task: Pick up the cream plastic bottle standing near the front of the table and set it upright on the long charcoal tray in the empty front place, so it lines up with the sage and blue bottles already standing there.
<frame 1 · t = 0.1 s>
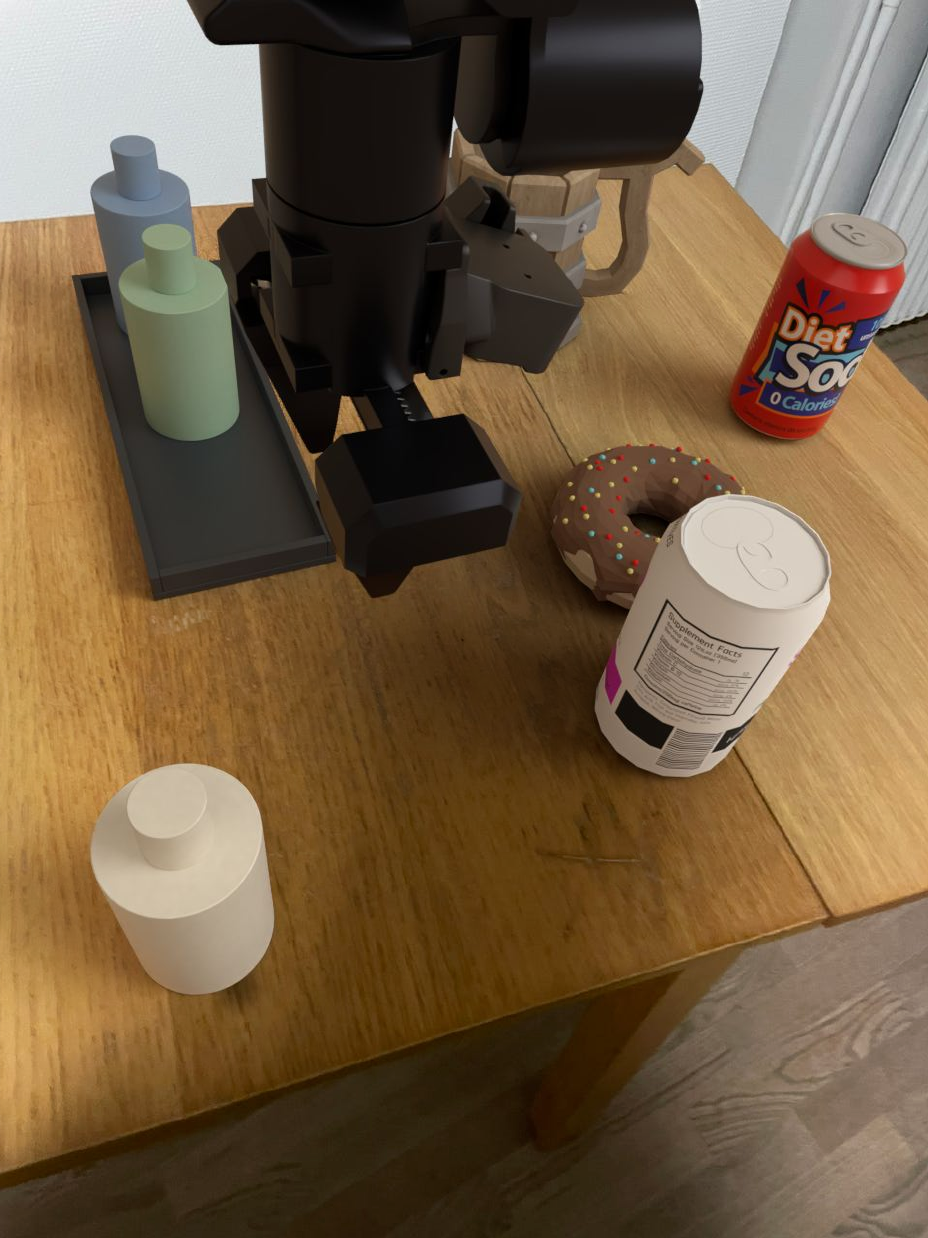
hand: (348, 517, 41), 14 cm above the table, tool pointing down, fingers open, 9 cm apart
blue bottle: (161, 318, 69), point 1 cm above the table, touching tray
supplement can: (659, 721, 53), on the table
tray: (193, 417, 64), on the table
sage bottle: (192, 410, 64), point 1 cm above the table, touching tray
soda can: (771, 416, 72), on the table
donut: (649, 552, 61), on the table
cream bottle: (205, 924, 43), on the table
tankard: (541, 318, 77), on the table
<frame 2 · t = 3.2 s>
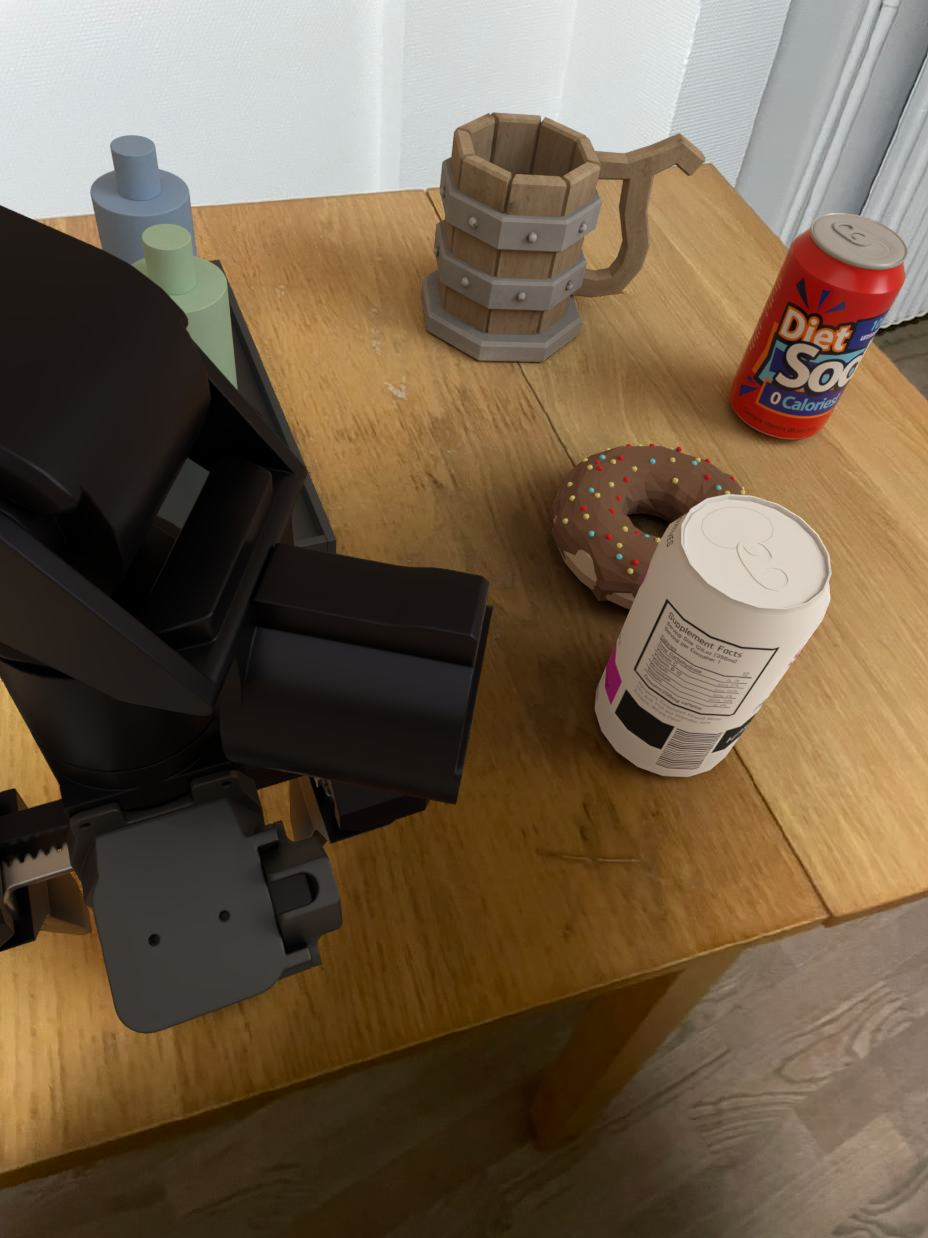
hand: (198, 886, 39), 5 cm above the table, tool pointing down
cream bottle: (205, 924, 43), on the table, touching gripper
everything else where it was.
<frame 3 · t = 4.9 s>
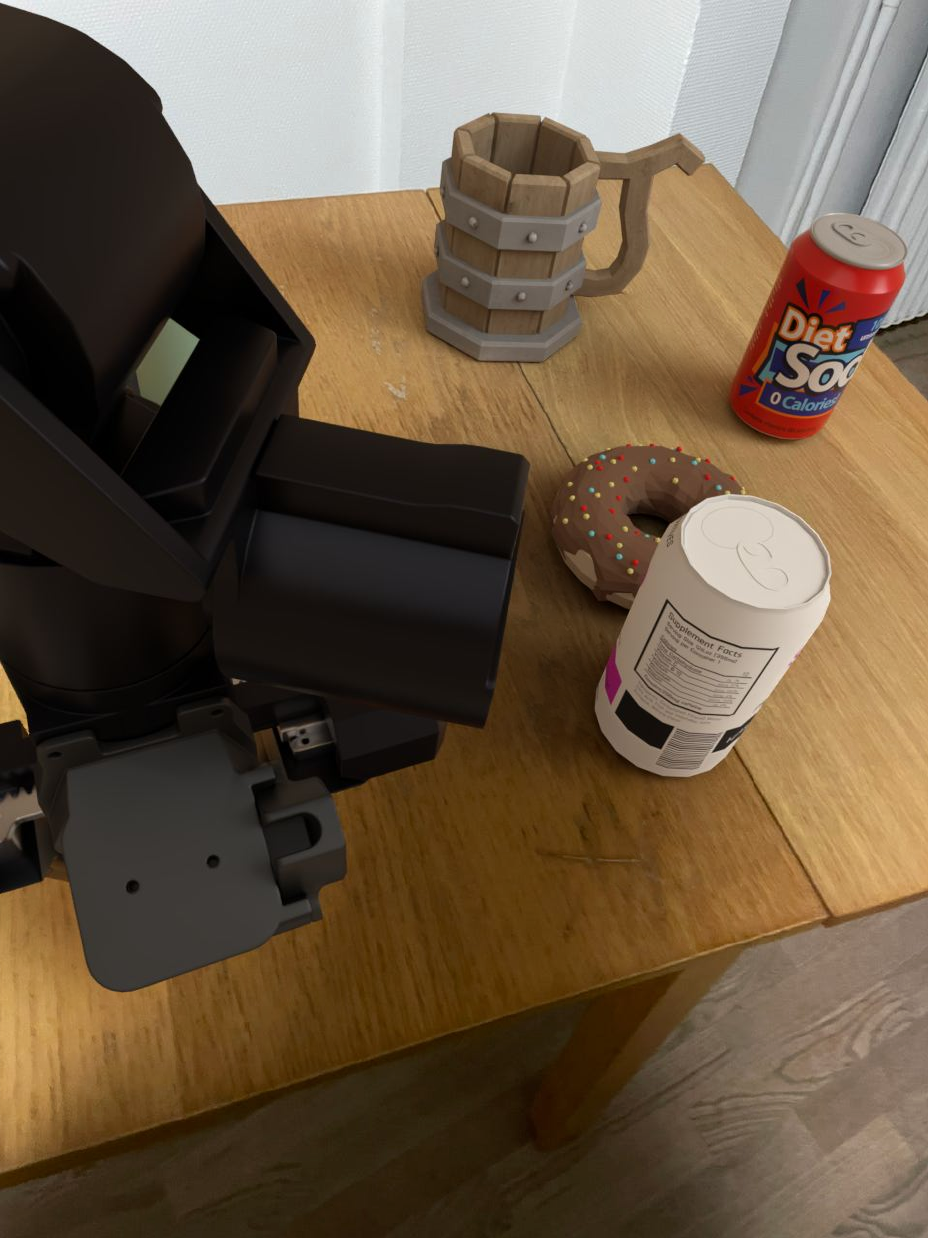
hand: (182, 846, 36), 9 cm above the table, tool pointing down, fingers closed on cream bottle, 6 cm apart
cream bottle: (194, 893, 40), point 4 cm above the table, touching gripper
everything else where it was.
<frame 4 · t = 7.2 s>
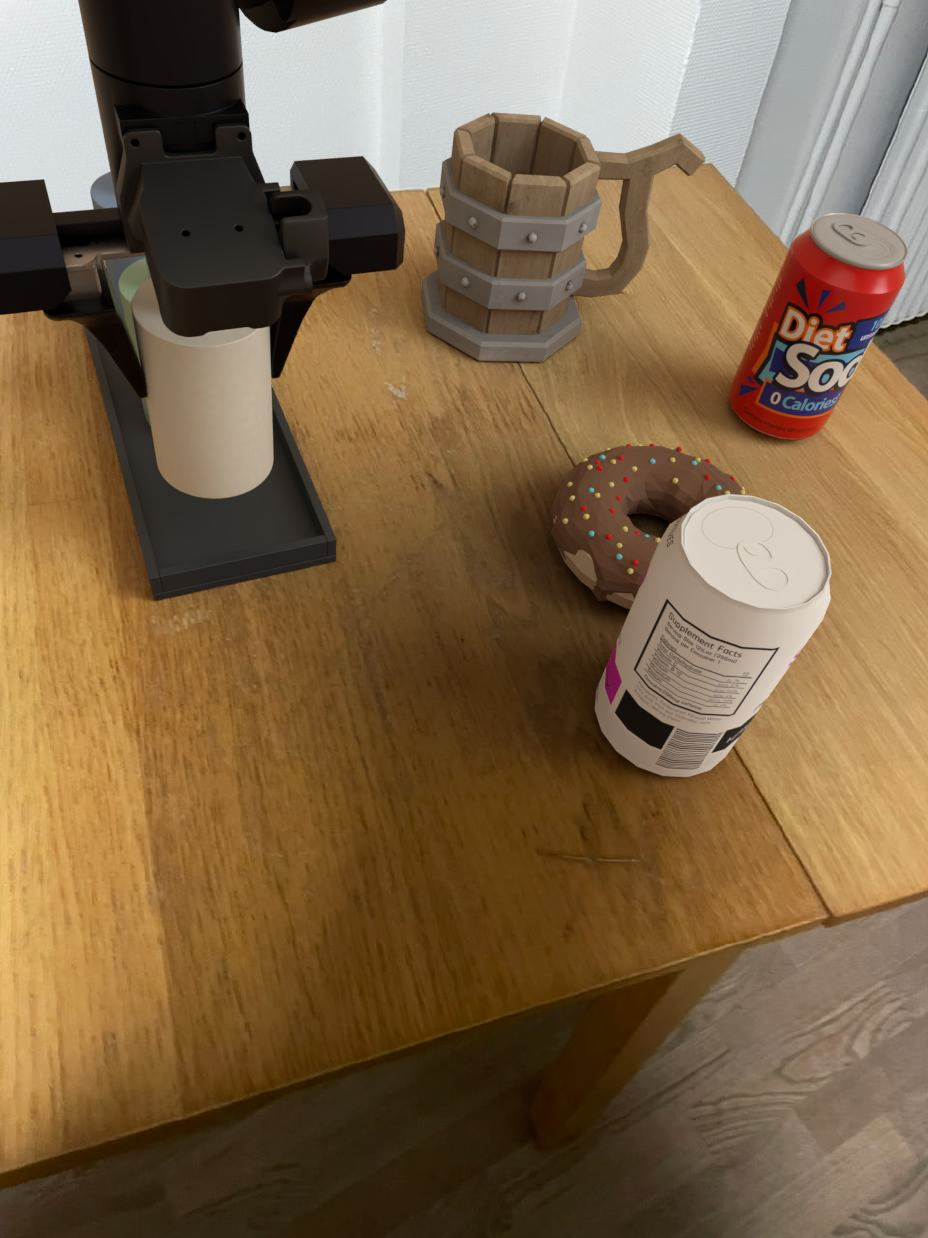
hand: (208, 383, 47), 13 cm above the table, tool pointing down, fingers closed on cream bottle, 6 cm apart
cream bottle: (215, 458, 52), point 7 cm above the table, touching gripper
everything else where it was.
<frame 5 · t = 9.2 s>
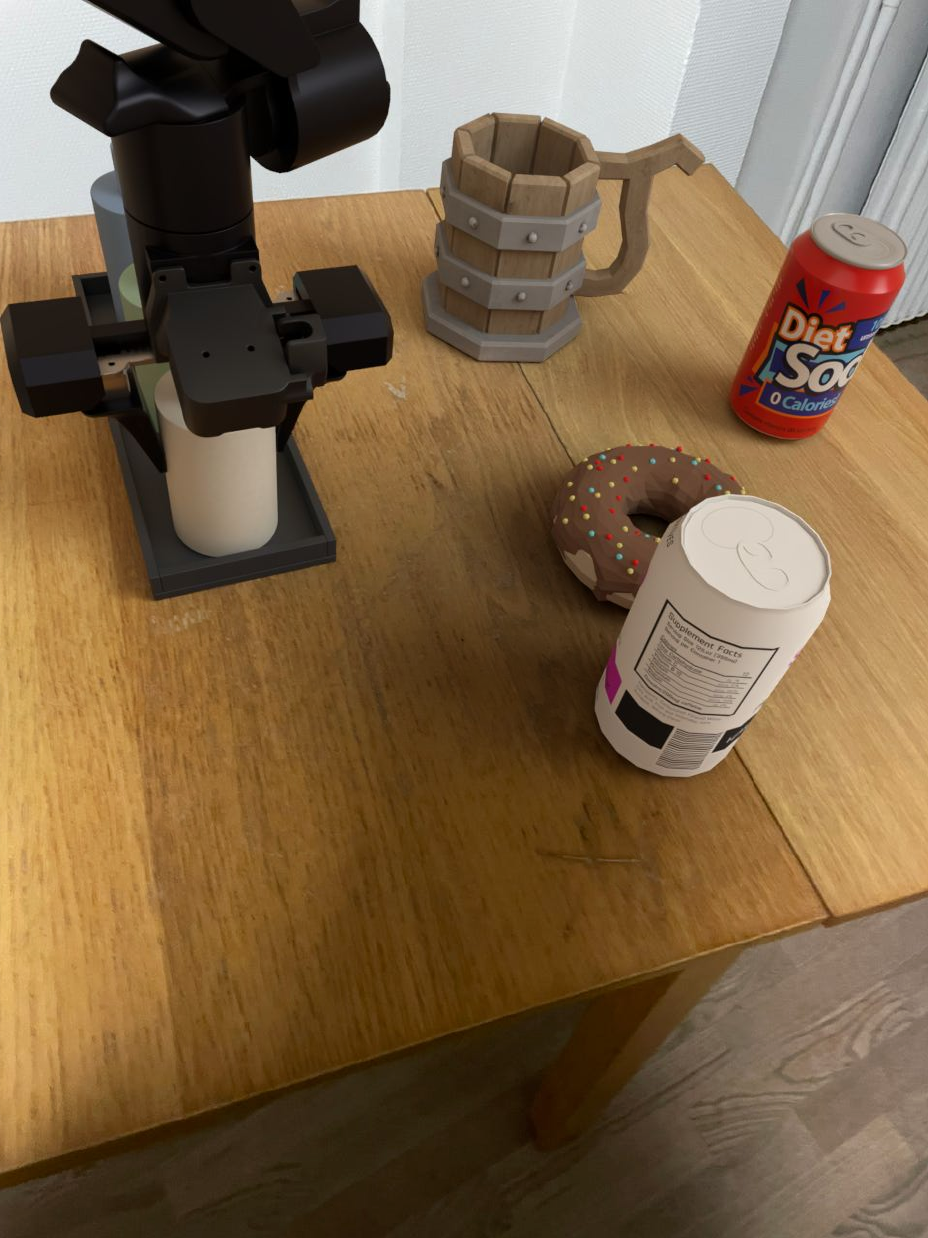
hand: (220, 457, 53), 6 cm above the table, tool pointing down, fingers closed on cream bottle, 6 cm apart
cream bottle: (226, 519, 58), point 1 cm above the table, touching gripper, tray
everything else where it was.
when the fingers open (6 cm above the table, at t = 9.5 s): cream bottle stays where it is, resting on tray.
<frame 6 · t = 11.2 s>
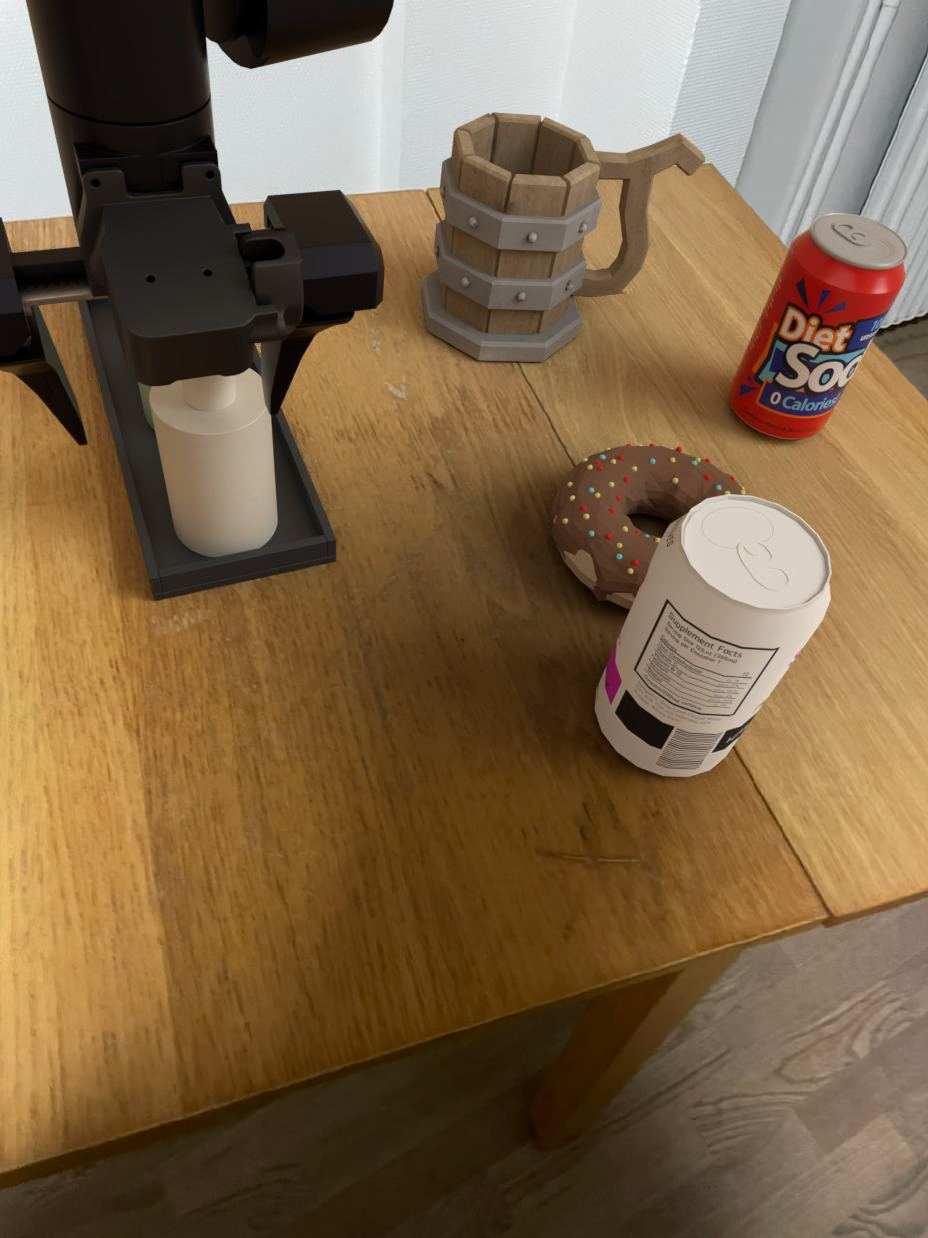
hand: (180, 424, 45), 13 cm above the table, tool pointing down, fingers open, 9 cm apart
cream bottle: (226, 520, 58), point 1 cm above the table, touching tray
everything else where it was.
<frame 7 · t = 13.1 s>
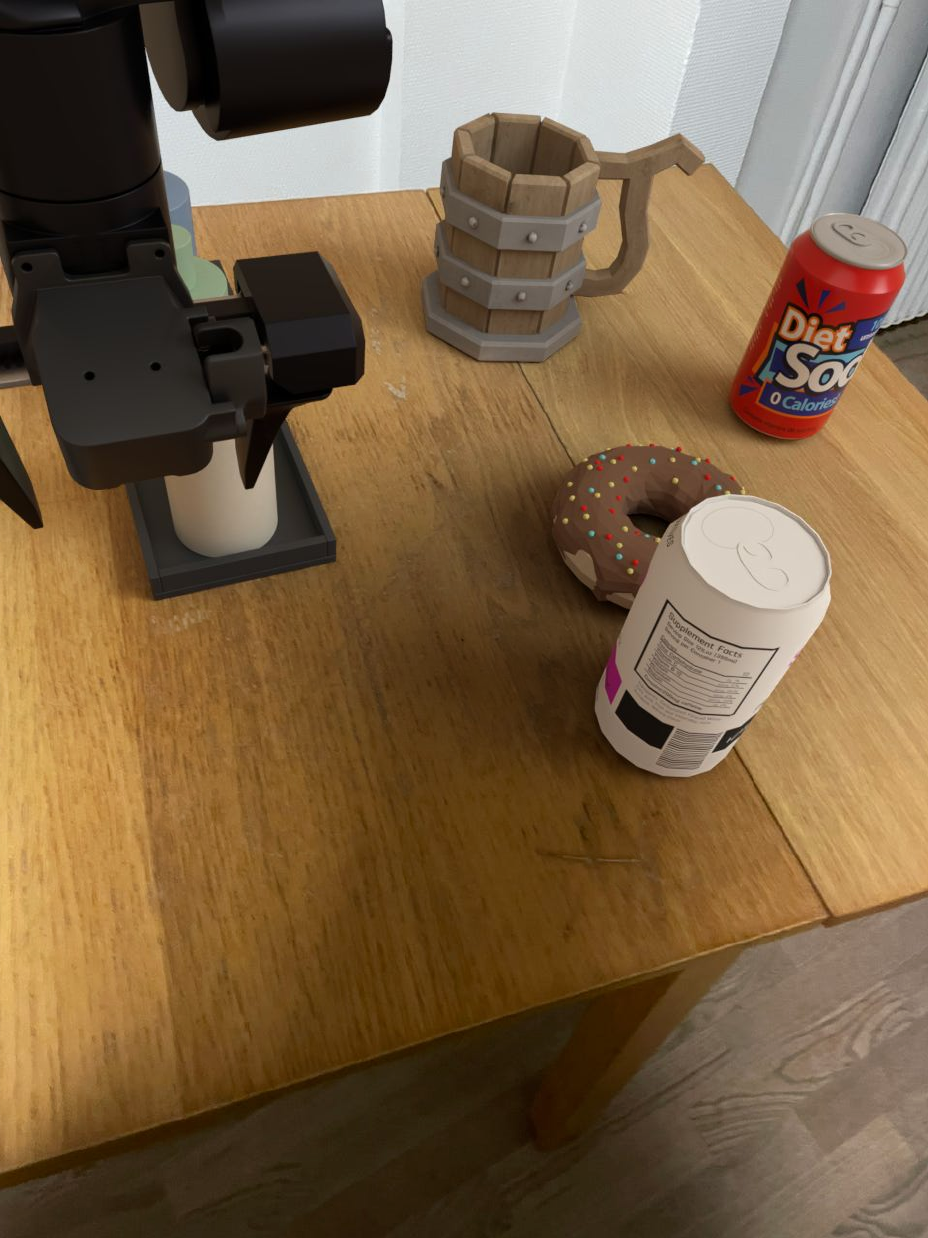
hand: (146, 501, 41), 13 cm above the table, tool pointing down, fingers open, 9 cm apart
nothing on the table moved.
at the end: cream bottle 0.2 cm from the target spot in the tray, point 0.6 cm above the tray's base; cream bottle tilted 0°; the gripper is holding nothing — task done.
